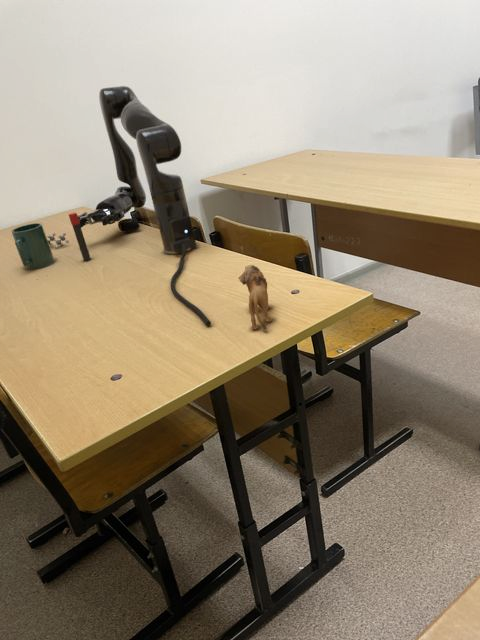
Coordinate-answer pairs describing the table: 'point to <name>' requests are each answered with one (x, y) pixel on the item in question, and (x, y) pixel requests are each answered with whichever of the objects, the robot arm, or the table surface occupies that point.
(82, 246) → the marker
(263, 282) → the brown animal figure
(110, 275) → the table surface
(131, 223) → the tape measure
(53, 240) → the molecular model
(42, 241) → the mug
